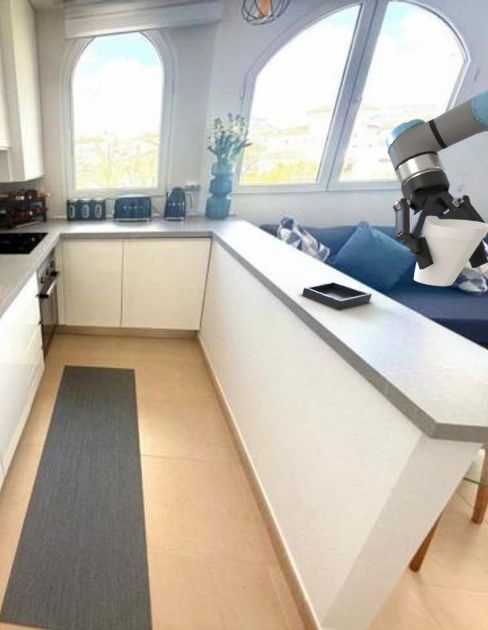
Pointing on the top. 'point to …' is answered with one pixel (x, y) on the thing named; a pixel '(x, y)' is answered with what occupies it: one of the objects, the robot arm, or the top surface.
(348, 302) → the dark grey square tray
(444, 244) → the foam cup
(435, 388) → the top surface
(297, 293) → the top surface
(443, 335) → the top surface
